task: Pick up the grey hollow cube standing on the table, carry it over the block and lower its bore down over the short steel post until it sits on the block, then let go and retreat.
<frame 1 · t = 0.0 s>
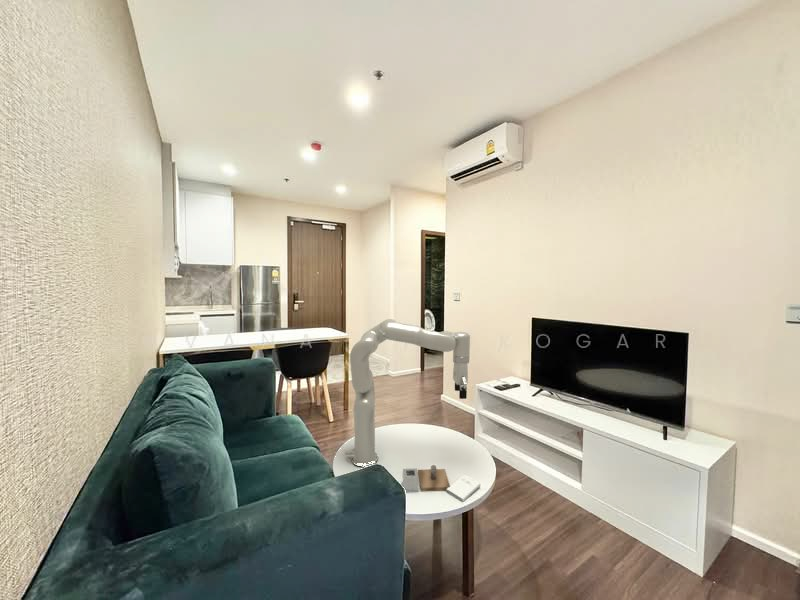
hand: (460, 394, 153), 31 cm above the table, tool pointing down, fingers open, 9 cm apart
grey hollow cube: (410, 486, 135), on the table
shaft block: (433, 481, 138), on the table
external hard drive: (463, 489, 133), on the table, touching shaft block
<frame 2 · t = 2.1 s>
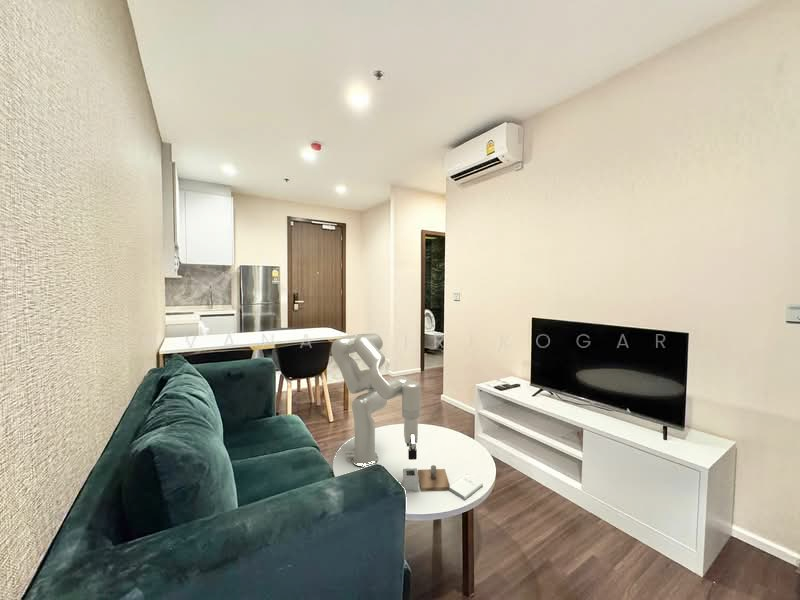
hand: (411, 452, 133), 15 cm above the table, tool pointing down, fingers open, 9 cm apart
external hard drive: (465, 488, 134), on the table, touching shaft block
everything else where it was.
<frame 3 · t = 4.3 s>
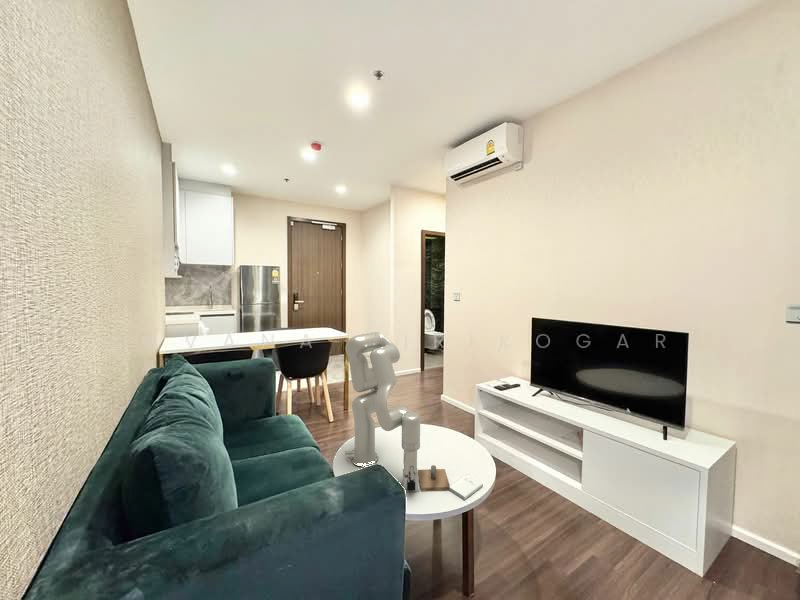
hand: (410, 484, 135), 1 cm above the table, tool pointing down, fingers closed on grey hollow cube, 6 cm apart
grey hollow cube: (410, 486, 135), on the table, touching gripper
everything else where it was.
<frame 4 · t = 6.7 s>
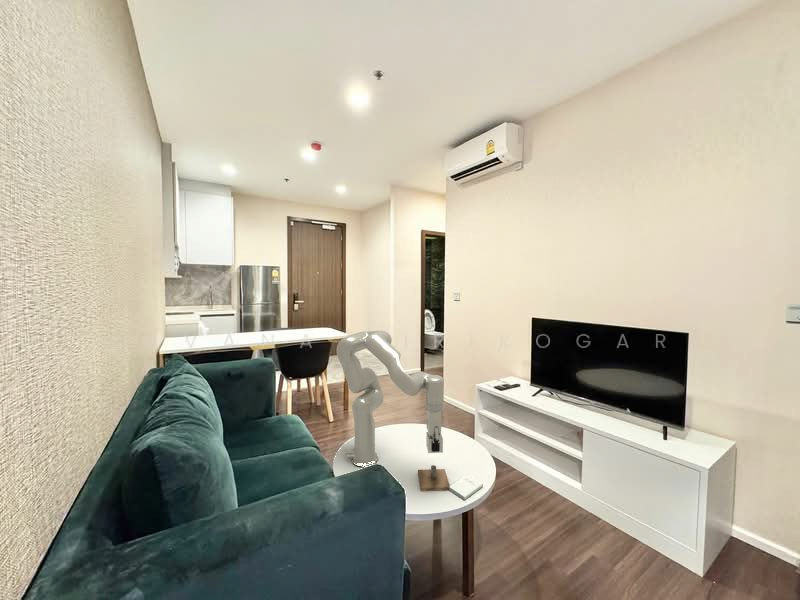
hand: (434, 446, 137), 16 cm above the table, tool pointing down, fingers closed on grey hollow cube, 6 cm apart
grey hollow cube: (434, 448, 137), point 15 cm above the table, touching gripper
everything else where it was.
when the fingers open (3 cm above the table, at t = 9.5 s): grey hollow cube stays where it is, resting on shaft block.
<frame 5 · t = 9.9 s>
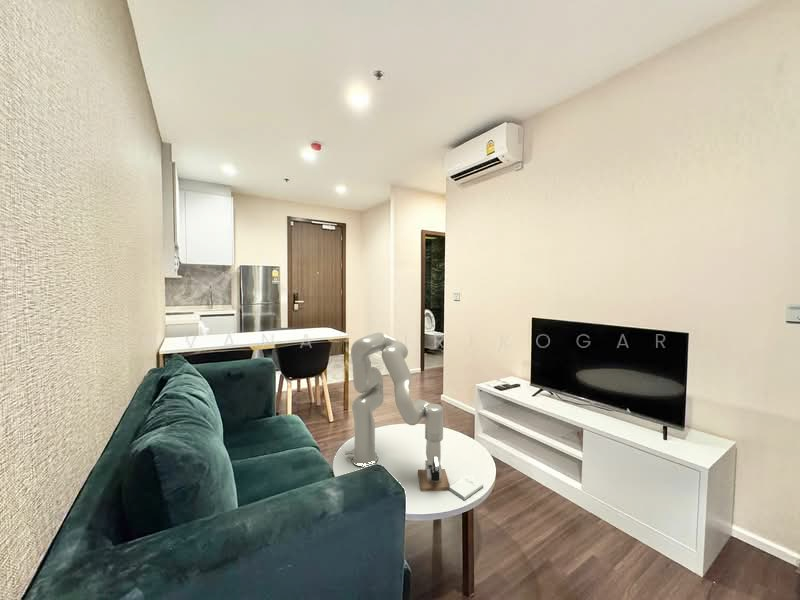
hand: (433, 472, 138), 4 cm above the table, tool pointing down, fingers open, 9 cm apart
grey hollow cube: (433, 477, 138), point 1 cm above the table, touching shaft block
everything else where it was.
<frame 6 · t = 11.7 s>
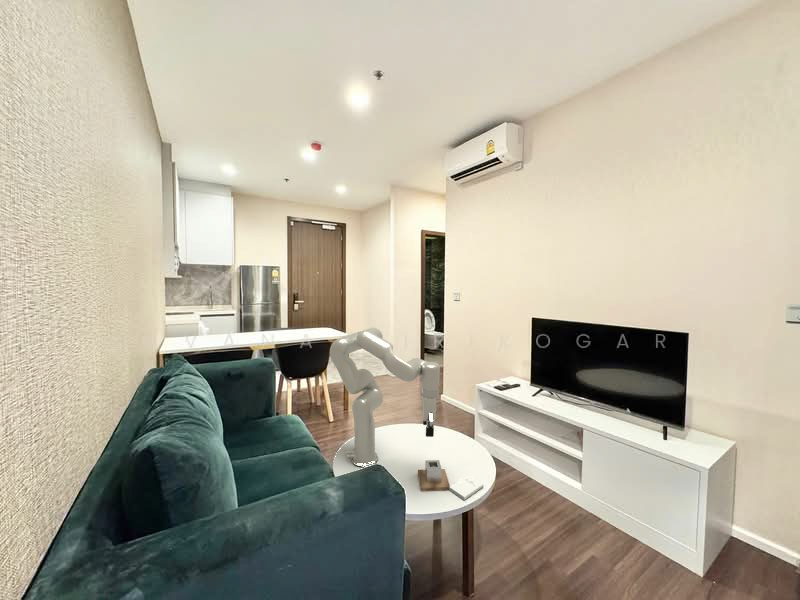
hand: (428, 430, 139), 21 cm above the table, tool pointing down, fingers open, 9 cm apart
nothing on the table moved.
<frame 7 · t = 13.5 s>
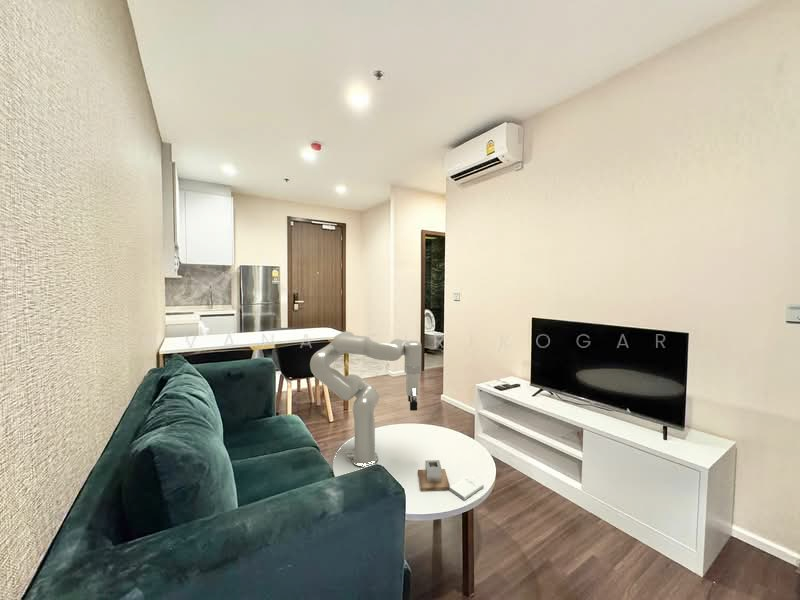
hand: (412, 405, 147), 28 cm above the table, tool pointing down, fingers open, 9 cm apart
nothing on the table moved.
at the end: grey hollow cube 0.1 cm off-centre on the shaft block, point 1.5 cm above the shaft block's base; grey hollow cube tilted 0°; the gripper is holding nothing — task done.
